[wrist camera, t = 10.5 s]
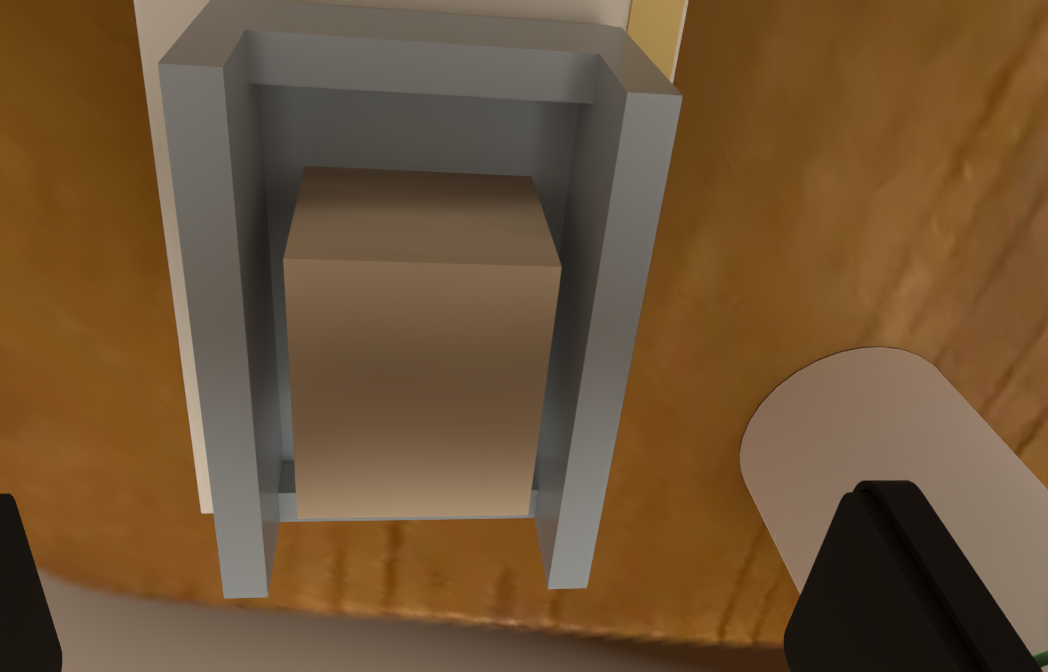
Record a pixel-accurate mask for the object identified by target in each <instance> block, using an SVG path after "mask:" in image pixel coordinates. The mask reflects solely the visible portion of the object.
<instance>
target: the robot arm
mask: <svg viewBox="0 0 1048 672" xmlns="http://www.w3.org/2000/svg"><path fill="white" fill-rule="evenodd" d="M784 651H785V656H786V659H787V663H788V665H789V668H790V670H791V672H1043V671H1042V669H1041V668H1040V666H1039V665H1038V663H1037V662H1036V660H1035V659H1034V657H1033V656H1032V654H1031V653H1030V651H1029V650H1028V648H1027V647H1026V645H1025V644H1024V643H1023V641H1022V640H1021V638H1020V637H1019V635H1018V634H1017V632H1016V631H1015V629H1014V628H1013V626H1012V625H1011V623H1010V622H1009V620H1008V619H1007V617H1006V616H1005V614H1004V613H1003V611H1002V610H1001V608H1000V607H999V605H998V604H997V602H996V601H995V599H994V598H993V596H992V595H991V594H990V592H989V591H988V589H987V588H986V586H985V585H984V583H983V582H982V580H981V579H980V577H979V576H978V574H977V573H976V571H975V570H974V568H973V567H972V565H971V564H970V562H969V561H968V559H967V558H966V556H965V555H964V553H963V552H962V550H961V549H960V547H959V546H958V545H957V543H956V542H955V540H954V539H953V537H952V536H951V534H950V533H949V531H948V530H947V528H946V527H945V525H944V524H943V522H942V521H941V519H940V518H939V516H938V515H937V513H936V512H935V510H934V509H933V507H932V506H931V504H930V503H929V501H928V500H927V498H926V497H925V496H924V494H923V493H922V491H921V490H920V489H919V487H918V486H917V485H916V484H915V483H913V482H911V481H909V480H863V481H861V482H859V483H858V484H857V485H856V487H855V488H854V490H853V492H847V493H846V494H844V495H843V497H842V498H841V500H840V503H839V505H838V507H837V510H836V512H835V514H834V517H833V519H832V521H831V524H830V526H829V528H828V531H827V533H826V536H825V538H824V540H823V543H822V545H821V547H820V550H819V552H818V554H817V557H816V559H815V562H814V564H813V566H812V569H811V571H810V573H809V576H808V578H807V580H806V583H805V585H804V587H803V590H802V592H801V595H800V597H799V599H798V602H797V604H796V606H795V609H794V611H793V613H792V616H791V618H790V620H789V623H788V625H787V628H786V630H785V634H784ZM61 669H62V651H61V646H60V643H59V640H58V637H57V634H56V630H55V627H54V624H53V621H52V617H51V614H50V611H49V608H48V604H47V602H46V598H45V595H44V592H43V588H42V585H41V582H40V579H39V575H38V572H37V569H36V566H35V563H34V559H33V556H32V553H31V550H30V546H29V543H28V540H27V537H26V534H25V530H24V527H23V524H22V521H21V517H20V514H19V511H18V508H17V505H16V502H15V500H14V497H13V496H12V495H11V494H0V672H61Z"/></svg>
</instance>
